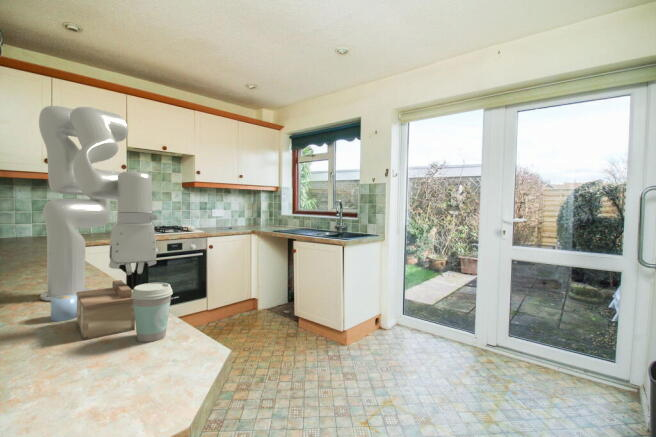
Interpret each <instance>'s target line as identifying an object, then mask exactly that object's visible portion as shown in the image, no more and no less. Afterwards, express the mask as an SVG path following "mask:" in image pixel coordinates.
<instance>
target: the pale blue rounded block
mask: <svg viewBox="0 0 656 437" xmlns="http://www.w3.org/2000/svg"><path fill="white" fill-rule="evenodd" d="M74 319H77V295H61V296H56V297H53V298H51V301H50V321H51V322H59V323H60V322H67V321H70V320H71V321H72V320H74Z"/></svg>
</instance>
